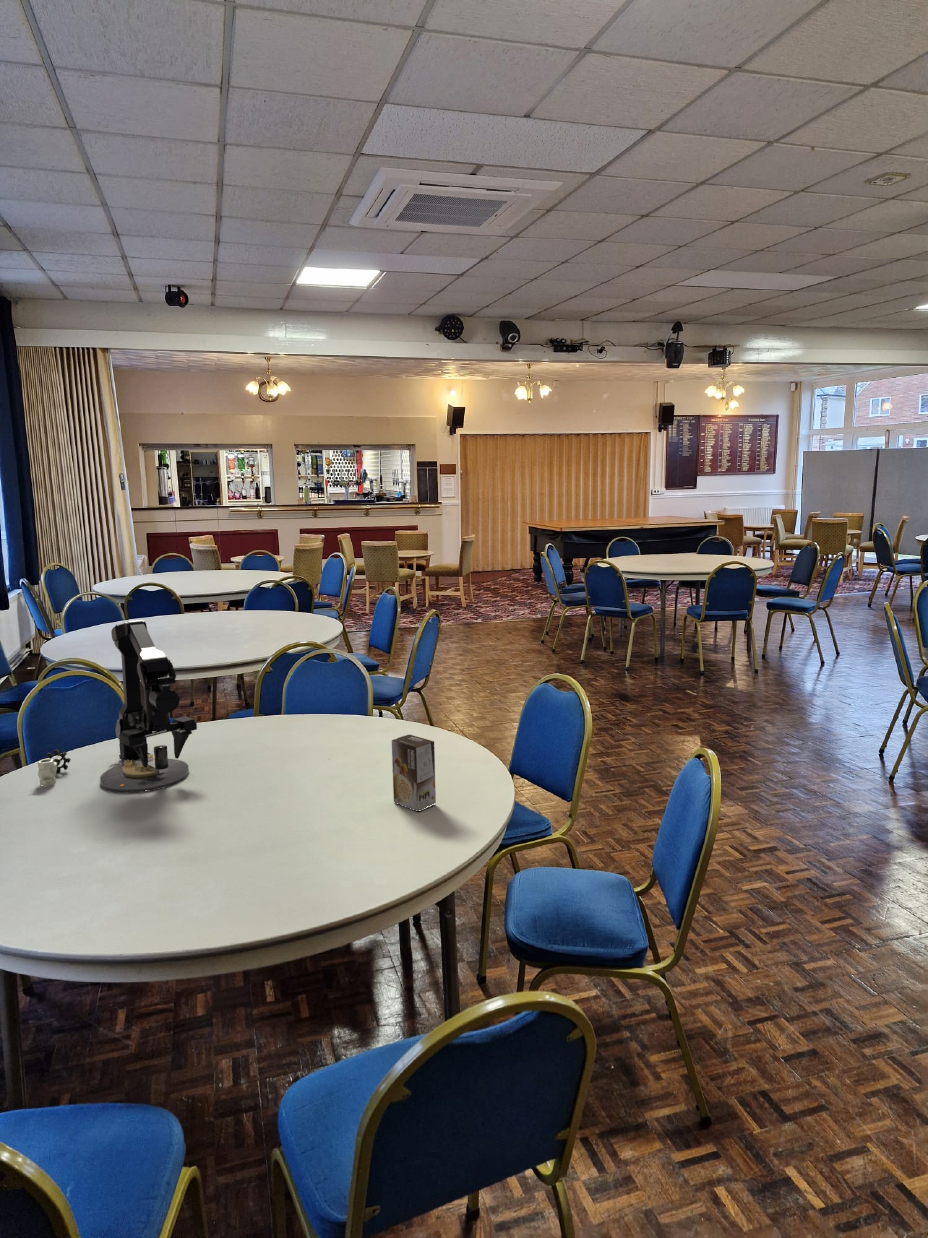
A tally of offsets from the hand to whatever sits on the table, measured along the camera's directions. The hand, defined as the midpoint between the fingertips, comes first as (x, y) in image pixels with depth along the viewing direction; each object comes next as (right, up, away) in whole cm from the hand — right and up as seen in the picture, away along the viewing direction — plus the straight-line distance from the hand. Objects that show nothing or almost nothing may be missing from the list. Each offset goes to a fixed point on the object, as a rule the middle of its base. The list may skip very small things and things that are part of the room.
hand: (161, 762), depth 204 cm
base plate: (-7, -5, +7) cm, 11 cm away
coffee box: (+67, -8, -14) cm, 69 cm away
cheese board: (-5, -3, +5) cm, 8 cm away
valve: (-32, -6, +6) cm, 33 cm away
